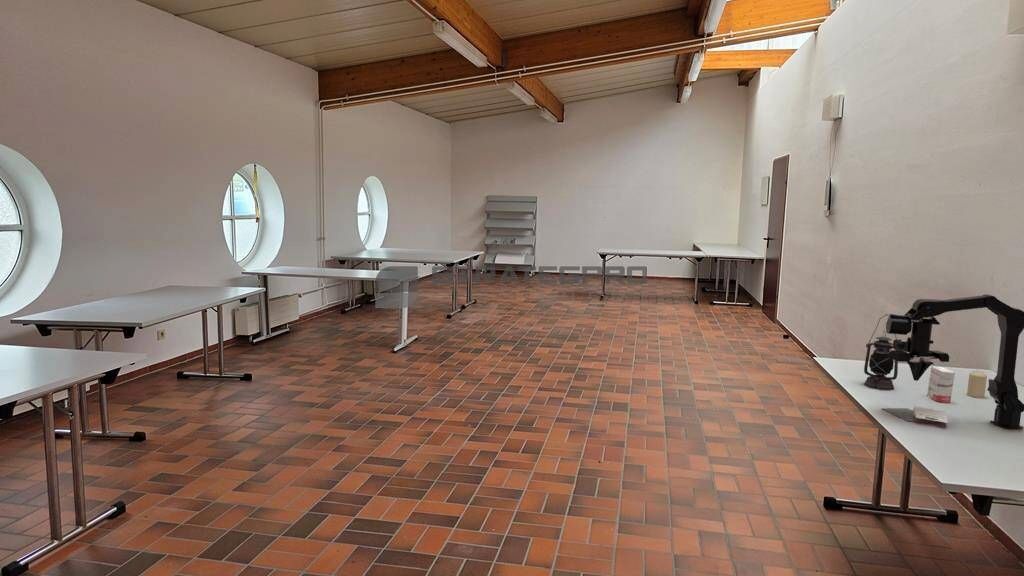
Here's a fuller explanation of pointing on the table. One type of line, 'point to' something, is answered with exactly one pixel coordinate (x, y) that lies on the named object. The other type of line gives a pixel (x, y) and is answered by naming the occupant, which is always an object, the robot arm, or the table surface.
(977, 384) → the candle
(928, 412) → the ink box
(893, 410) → the slate mat
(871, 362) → the lantern
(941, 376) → the ink box
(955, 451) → the table surface
